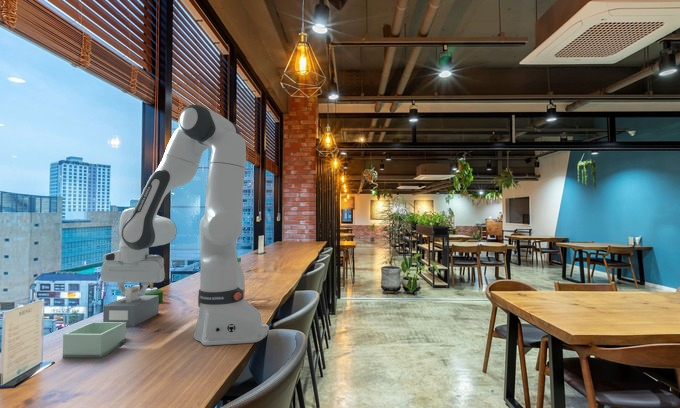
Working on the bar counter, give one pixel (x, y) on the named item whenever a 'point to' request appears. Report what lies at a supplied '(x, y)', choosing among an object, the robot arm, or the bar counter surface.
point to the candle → (155, 292)
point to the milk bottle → (240, 277)
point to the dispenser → (131, 310)
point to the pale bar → (132, 293)
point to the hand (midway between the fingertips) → (133, 295)
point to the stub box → (94, 340)
